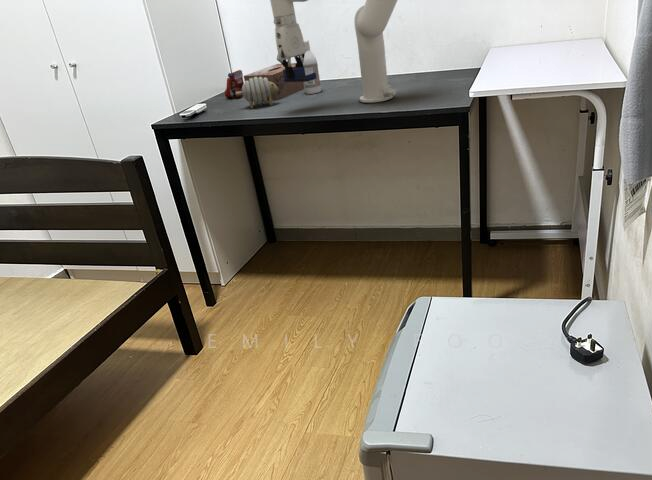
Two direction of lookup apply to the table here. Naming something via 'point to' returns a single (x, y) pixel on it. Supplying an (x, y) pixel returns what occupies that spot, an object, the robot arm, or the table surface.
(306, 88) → the bath foam
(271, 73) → the tissue box cover
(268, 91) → the toy sheep
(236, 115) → the table surface
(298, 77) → the navy rounded-end tab
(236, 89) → the toy fire truck
